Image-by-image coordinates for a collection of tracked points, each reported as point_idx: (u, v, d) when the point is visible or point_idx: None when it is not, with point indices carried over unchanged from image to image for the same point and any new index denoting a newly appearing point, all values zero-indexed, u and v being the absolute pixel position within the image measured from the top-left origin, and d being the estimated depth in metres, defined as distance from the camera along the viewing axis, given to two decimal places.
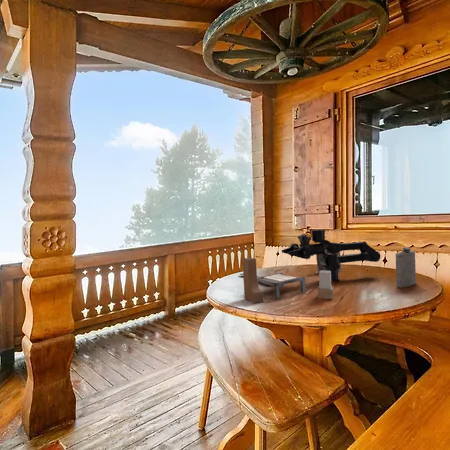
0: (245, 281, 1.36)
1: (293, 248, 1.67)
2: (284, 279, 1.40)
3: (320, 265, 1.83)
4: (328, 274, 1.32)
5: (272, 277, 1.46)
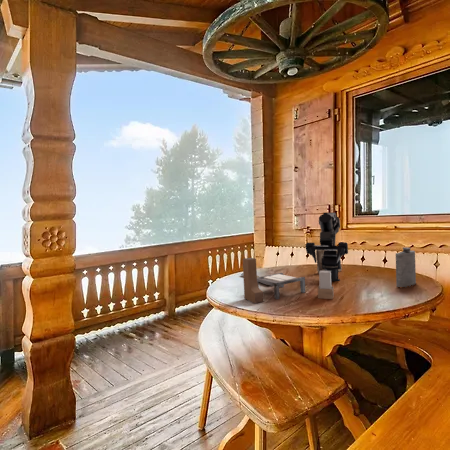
0: (245, 281, 1.36)
1: (314, 249, 1.47)
2: (284, 279, 1.40)
3: (320, 265, 1.83)
4: (328, 274, 1.32)
5: (272, 277, 1.46)
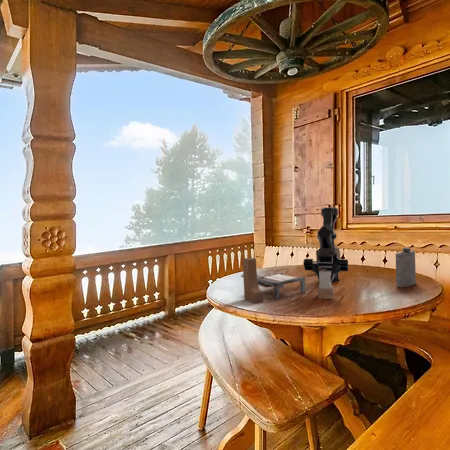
0: (245, 281, 1.36)
1: (318, 266, 1.38)
2: (284, 279, 1.40)
3: None
4: (328, 274, 1.32)
5: (272, 277, 1.46)
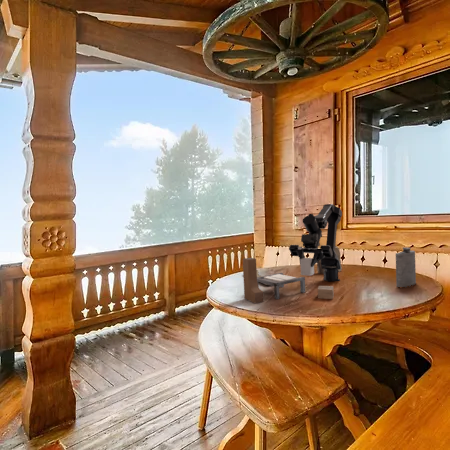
0: (245, 281, 1.36)
1: (302, 252, 1.42)
2: (284, 279, 1.40)
3: (320, 265, 1.83)
4: (308, 261, 1.35)
5: (272, 277, 1.46)
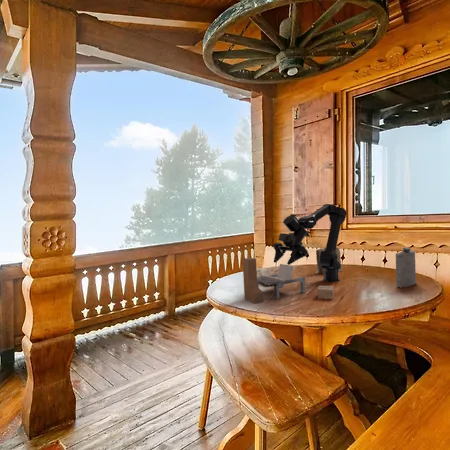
0: (245, 281, 1.36)
1: (279, 249, 1.53)
2: (284, 279, 1.40)
3: (320, 265, 1.83)
4: (285, 266, 1.45)
5: None
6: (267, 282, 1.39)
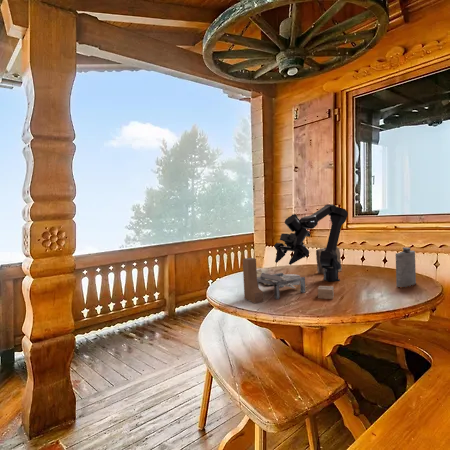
0: (245, 281, 1.36)
1: (281, 249, 1.53)
2: (284, 279, 1.41)
3: (320, 265, 1.83)
4: (298, 275, 1.50)
5: None
6: (267, 282, 1.39)
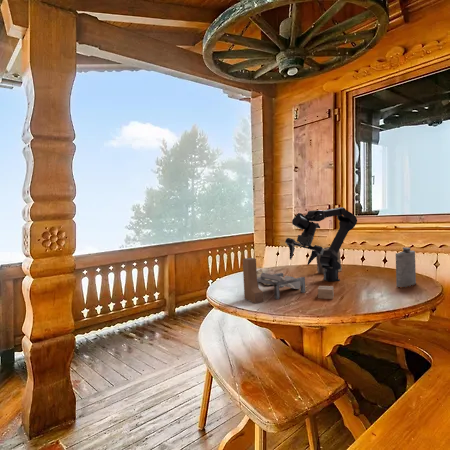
0: (245, 281, 1.36)
1: (293, 246, 1.58)
2: (284, 279, 1.41)
3: (320, 265, 1.83)
4: None
5: None
6: (267, 282, 1.39)
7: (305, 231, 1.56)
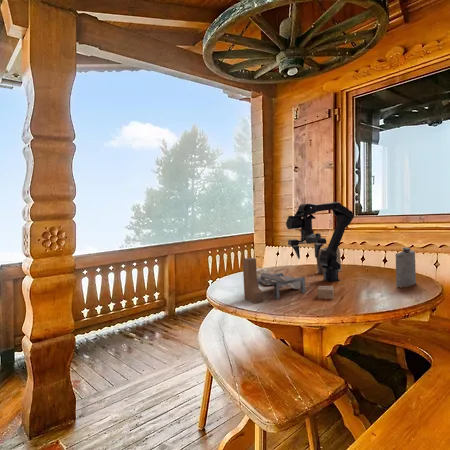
0: (245, 281, 1.36)
1: None
2: (284, 279, 1.41)
3: (320, 265, 1.83)
4: None
5: None
6: (267, 282, 1.39)
7: (306, 228, 1.57)
